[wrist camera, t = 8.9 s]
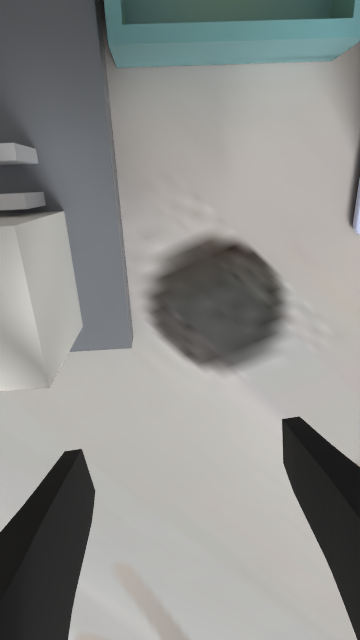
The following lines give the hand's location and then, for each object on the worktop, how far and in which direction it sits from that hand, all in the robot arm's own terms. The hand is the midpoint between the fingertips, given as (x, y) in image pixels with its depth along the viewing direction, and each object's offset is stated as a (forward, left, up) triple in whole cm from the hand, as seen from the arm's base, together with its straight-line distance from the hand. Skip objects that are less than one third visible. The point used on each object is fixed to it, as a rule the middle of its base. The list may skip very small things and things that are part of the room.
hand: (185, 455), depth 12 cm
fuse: (+7, -5, -8) cm, 12 cm away
